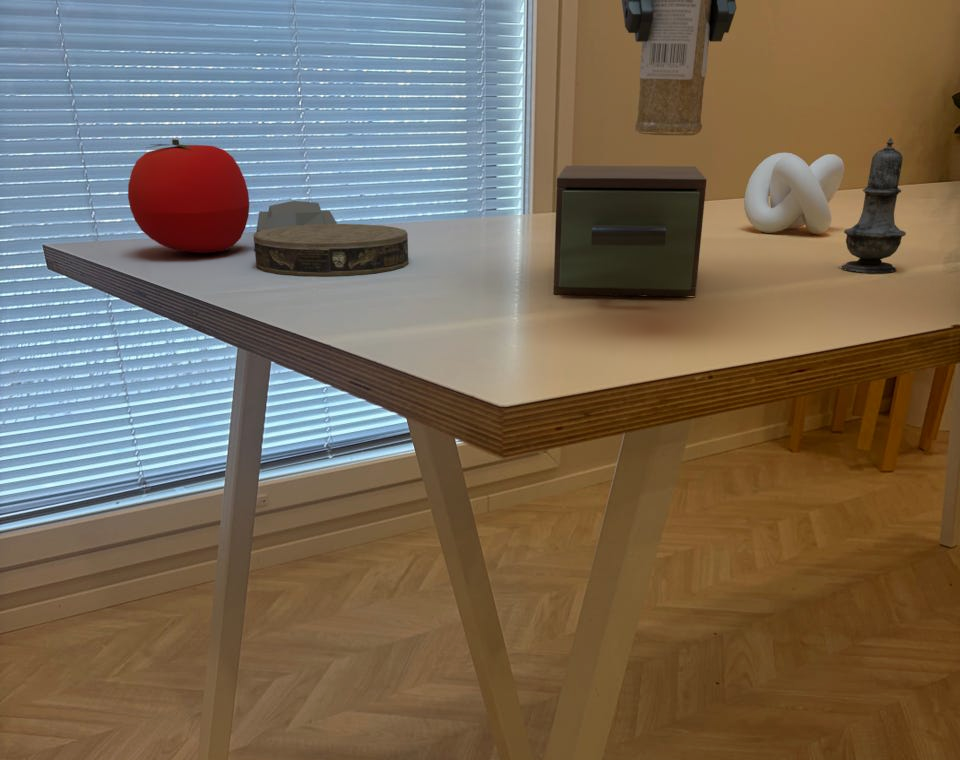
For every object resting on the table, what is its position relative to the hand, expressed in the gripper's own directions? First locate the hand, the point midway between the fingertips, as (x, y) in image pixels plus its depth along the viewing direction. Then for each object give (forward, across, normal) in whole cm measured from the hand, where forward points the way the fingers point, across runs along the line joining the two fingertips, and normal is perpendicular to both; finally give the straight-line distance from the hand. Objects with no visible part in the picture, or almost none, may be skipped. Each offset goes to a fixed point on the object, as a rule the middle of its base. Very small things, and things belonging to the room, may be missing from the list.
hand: (682, 29), depth 66 cm
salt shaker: (-8, +29, +36) cm, 47 cm away
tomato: (-20, -41, +48) cm, 66 cm away
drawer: (-1, +2, +28) cm, 28 cm away
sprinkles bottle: (+3, 0, +6) cm, 6 cm away
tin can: (-14, -26, +42) cm, 51 cm away
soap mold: (-28, -31, +56) cm, 70 cm away
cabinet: (-4, +2, +32) cm, 32 cm away
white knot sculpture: (-29, +31, +57) cm, 71 cm away
